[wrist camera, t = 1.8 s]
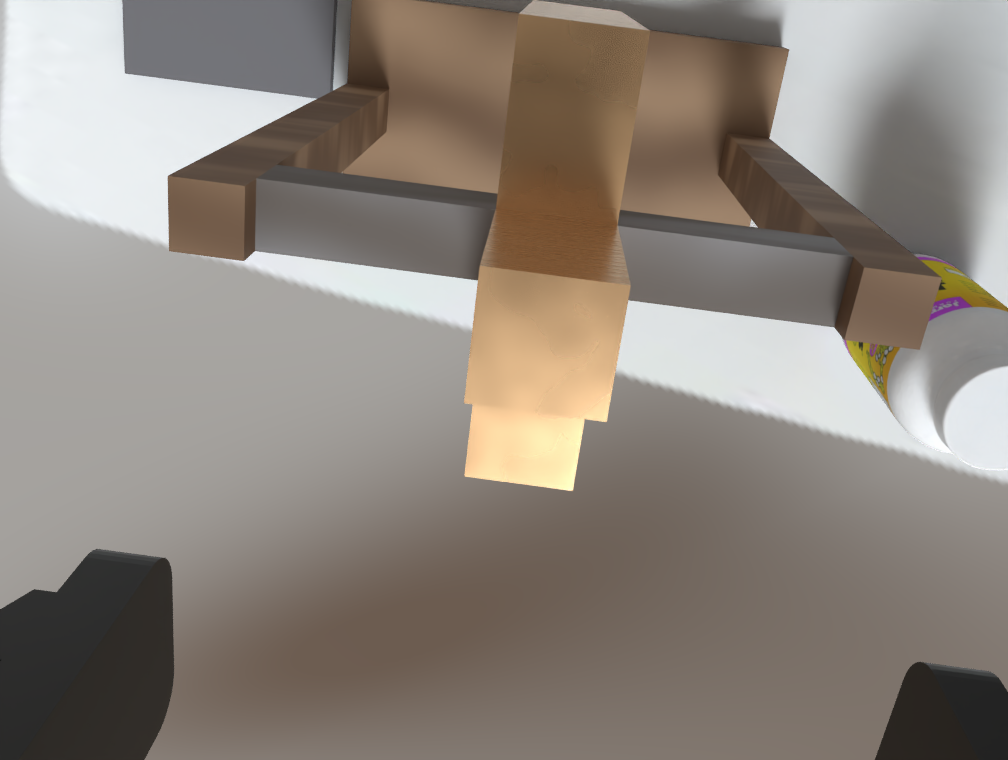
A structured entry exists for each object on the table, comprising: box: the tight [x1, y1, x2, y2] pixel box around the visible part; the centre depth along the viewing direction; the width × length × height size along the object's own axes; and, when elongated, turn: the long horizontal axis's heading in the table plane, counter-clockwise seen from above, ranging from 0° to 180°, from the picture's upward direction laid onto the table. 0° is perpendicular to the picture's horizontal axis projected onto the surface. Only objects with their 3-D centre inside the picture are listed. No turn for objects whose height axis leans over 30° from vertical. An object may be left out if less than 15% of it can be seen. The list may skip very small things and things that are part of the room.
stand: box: [168, 0, 942, 350], centre depth 36 cm, size 10×20×24 cm, turn 83°
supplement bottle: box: [842, 254, 1008, 470], centre depth 44 cm, size 7×7×13 cm
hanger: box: [464, 0, 650, 491], centre depth 27 cm, size 12×3×17 cm, turn 173°
